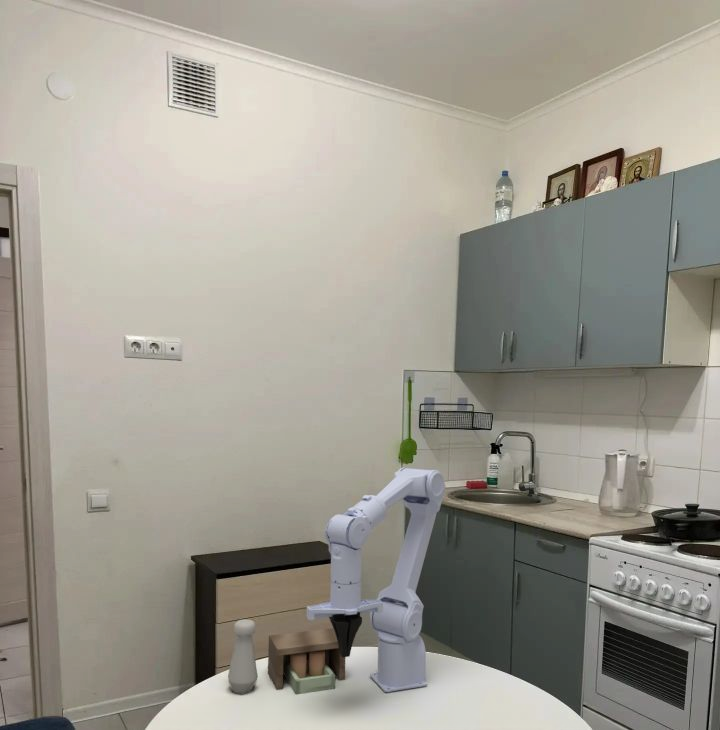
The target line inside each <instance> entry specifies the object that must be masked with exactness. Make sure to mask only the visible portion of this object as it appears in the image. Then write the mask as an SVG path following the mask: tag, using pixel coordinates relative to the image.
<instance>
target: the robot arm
mask: <svg viewBox="0 0 720 730" xmlns="http://www.w3.org/2000/svg"><path fill="white" fill-rule="evenodd" d="M445 491H446V483H445V480H444V477H443V474H442V472H441V471H440V470H438V469H419V468H412V467H411V468H409V467H405V466H403V467H400V468H399V469H398V471H395V472H394V474H393V479H392V480H391V481H390V482H389V483H388V484H387V485H386V486H385V487H384V488H383V489H381V491H379V492H378V493H377V494H376V495H373V494H370V495H368V494H364V495H363V496H362V497H361V500H360V501H359V502H358V503H356V504H355V505H353V506H352V507H349V508H348V509H347V511H346V512H344V513H343V514H339V513H338V514H335V515H334V516H333V517H331V518H330V519H329V521H328V522H327V524H326V528H325V530H324V537H325V540H326V542H327V544H328V552H329V554H330V591H329V593H330V594H329V595H330V601H328V602H323V603H320V604H315V605H308V606H306V618H307V620H309V621H314V620H316V619H324V618H329V619H328V620H329V621H330V623H331V625H332V627H333V628H334V631H335V634H336V637H337V641H338V646H339V653H340V655H341V656H342V657H345V658H348V657H350V656H351V653H352V646H353V643H354V641H355V638H356V635H357V633H358V631H359V628H360V627H361V626H362V623H363V618H362V616H361V614H368V613H369V623H370V626H371V628H372V629H373V630H375V631H374V633H375V634H374V635H375V636H376V637H377V643H378V644H377V672H375V673H374V672H373V673H370V678H371V679H372V681H374V682H375V683H376V685H378V687H379V688H380V689H381V690H382V691H383V692H385V693H389V692H390V693H391V692H395V691H396V692H397V691H401V690H408V689H409V690H410V689H413V688H420V687H427V685H428V683H427V681H426V673H427V672H426V667H427V666H426V663H427V662H426V660H427V659H426V658H427V657H426V655H427V653H426V652H427V651H426V647H425V642H424V640H423V638H422V637H421V635H420V633H421V630H422V627H423V626H422V625H423V611H424V607H425V606H424V604H423V603H422V600H420V597H419V596H418V595H417V593H416V591H417V587H418V583H419V582H420V581H419V580H420V577H421V574H422V573H421V572H422V569H423V565H424V561H425V558H426V553H427V550H428V546H429V543H430V539H431V535H432V532H433V528H434V525H435V521H436V516H437V513H438V512H440V509H441V506H442V502H443V499H444V495H445ZM400 501H402V503H403V505H404V507H405V508H406V509H408V510H409V512H410V517H409V522H408V526H407V528H406V533H405V535H404V539H403V542H402V546H401V549H400V553H399V557H398V558H397V563H396V567H395V570H394V572H393V573H394V574H393V578H392V582H391V584H390V585H388V586H386V587H385V588H383V589H382V590H380V591H379V593H378V596H377V598H375V599H361V597H362V593H361V591H362V547H364V546H365V545H366V543H367V541H368V538H369V536H370V534H371V533H372V530H373V529H375V528H376V527H377V526H378V525H379V524H380V523H381V522H383V521H384V520H385V519H386V517H387V515H388V514H387V513H388V509H390V508H392V507H393V506H395V505H396V504H398V503H399V502H400Z"/></svg>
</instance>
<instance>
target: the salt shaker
mask: <svg viewBox="0 0 720 730" xmlns="http://www.w3.org/2000/svg"><path fill="white" fill-rule="evenodd" d="M233 633H234V635H235V640H234V645H233V650H232V653H231V655H232V656H231V660H230V665H229V669H228V674H227V675H228V676H227V679H228V680H227V681H228V683H229V686H230V687H231V690H232V691H233V693H235V694H240V693H243V695H244V694H247V693H250V691H251V692H252V690H253V689H254V686H255V684H256V682H257V681H258V669H257V663H256V654H255V649H254V648H255V646H254V639H253V635H254V634H255V633H256V623H255V621H253V620H251V619H245V618H244V619H239V620H238V621H236V622H235V623H234V624H233Z"/></svg>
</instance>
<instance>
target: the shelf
mask: <svg viewBox="0 0 720 730" xmlns="http://www.w3.org/2000/svg"><path fill="white" fill-rule="evenodd" d="M267 649H268V650H267V651H268V655H267V659H268V660H267V675H268V676H269V679H270V680H271V682H272V685H274V688H275V690H276V691H279V690H283V689H284V688H283V683H284V682H283V681H284V679H283V678H284V674H285V663H290V654H295V653H303V652H306V653H307V660H309V652H311V651H319V650H325V663H326V665H327V666H328V667H329V668H330V670H331V671H332V672H333V673H334V675H335V677H336V676H337V677H336V678H337V679H338V680H339V681H345V680H346V657H342V656H341V655H340V653H339V646H338V641H337V637H336V634H335V631H334V628H324V629H317V630H305V631H299V632H290V633H288V632H287V633H279V634H272V635H268V648H267Z"/></svg>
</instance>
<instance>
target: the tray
mask: <svg viewBox="0 0 720 730" xmlns="http://www.w3.org/2000/svg"><path fill="white" fill-rule="evenodd" d="M284 677H285V679H286V681H287V682H288V684H289V685H290V687H291V689H292V691H294V694H295V695H299V694H307V693H312V692H313V693H314V692H320V691H327V690H333V689H336V688H335V687H336V675H335V674H334V673H333V672H332V670H331V669H330V668H329V667H328V666H327V665H326V663H325V650H319V651H311V652H309V660H307V653H306V652H303V653H295V654H290V663H285V673H284Z"/></svg>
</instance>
